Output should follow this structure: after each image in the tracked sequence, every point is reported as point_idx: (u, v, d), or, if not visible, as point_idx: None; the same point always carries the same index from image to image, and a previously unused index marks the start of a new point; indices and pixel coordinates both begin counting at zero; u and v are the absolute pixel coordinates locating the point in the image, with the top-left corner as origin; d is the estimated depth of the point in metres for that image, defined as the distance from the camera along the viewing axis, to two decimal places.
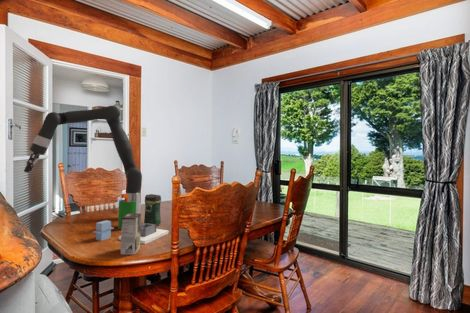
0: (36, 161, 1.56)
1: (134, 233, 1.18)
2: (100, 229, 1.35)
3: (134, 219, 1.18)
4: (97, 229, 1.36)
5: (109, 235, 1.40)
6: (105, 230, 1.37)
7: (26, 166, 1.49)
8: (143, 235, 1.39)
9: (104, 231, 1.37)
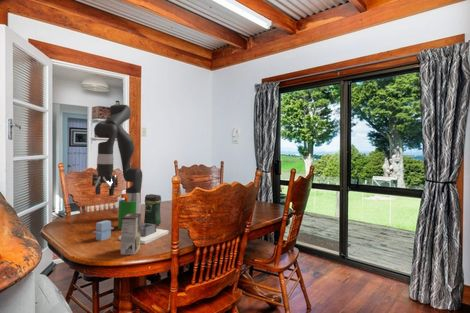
0: None
1: (134, 233, 1.18)
2: (100, 229, 1.35)
3: (134, 219, 1.18)
4: (97, 229, 1.36)
5: (109, 235, 1.40)
6: (105, 230, 1.37)
7: (110, 190, 1.36)
8: (143, 235, 1.39)
9: (104, 231, 1.37)
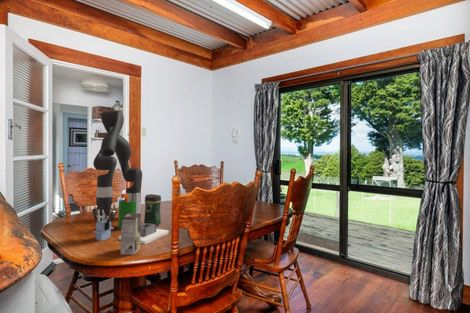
0: None
1: (134, 233, 1.18)
2: (100, 229, 1.35)
3: (134, 219, 1.18)
4: (97, 229, 1.36)
5: (109, 235, 1.40)
6: (105, 230, 1.37)
7: (105, 224, 1.37)
8: (143, 235, 1.39)
9: (104, 231, 1.37)
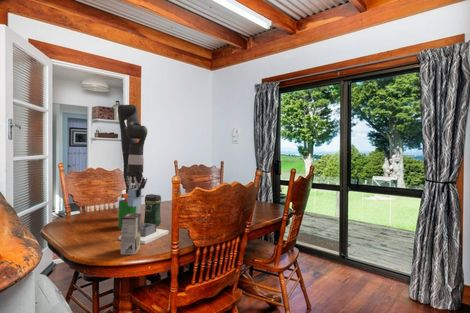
0: None
1: (134, 233, 1.18)
2: (132, 195, 1.39)
3: (134, 219, 1.18)
4: (129, 195, 1.40)
5: (140, 202, 1.44)
6: None
7: (137, 191, 1.40)
8: (143, 235, 1.39)
9: (135, 198, 1.40)
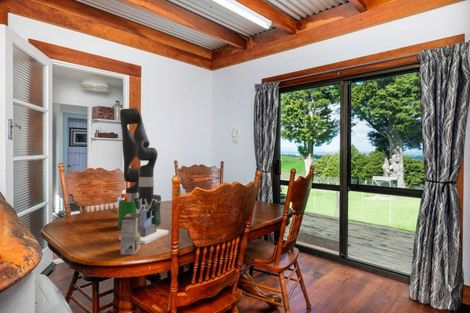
0: None
1: (134, 233, 1.18)
2: (143, 217, 1.41)
3: (134, 219, 1.18)
4: None
5: (150, 223, 1.45)
6: None
7: (148, 213, 1.42)
8: (143, 235, 1.39)
9: (146, 219, 1.42)
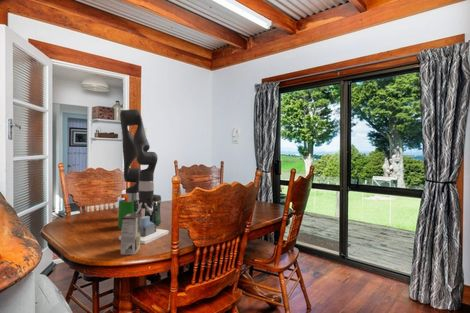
0: None
1: (134, 233, 1.18)
2: (143, 224, 1.41)
3: (134, 219, 1.18)
4: None
5: None
6: (147, 225, 1.43)
7: (151, 216, 1.42)
8: (143, 235, 1.39)
9: (146, 226, 1.42)
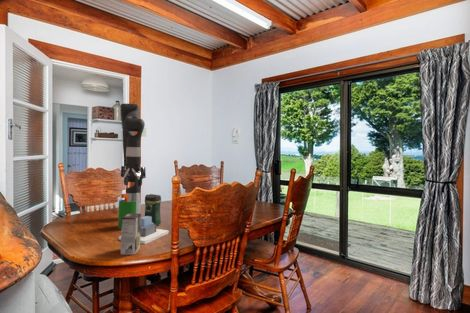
0: None
1: (134, 233, 1.18)
2: (143, 224, 1.41)
3: (134, 219, 1.18)
4: None
5: None
6: (147, 225, 1.43)
7: (139, 181, 1.44)
8: (143, 235, 1.39)
9: (146, 226, 1.42)
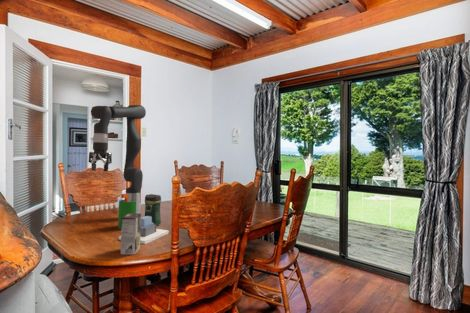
0: None
1: (134, 233, 1.18)
2: (143, 224, 1.41)
3: (134, 219, 1.18)
4: None
5: None
6: (147, 225, 1.43)
7: (105, 166, 1.50)
8: (143, 235, 1.39)
9: (146, 226, 1.42)
